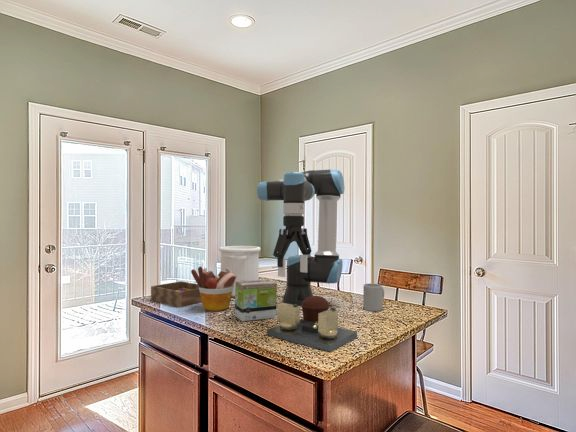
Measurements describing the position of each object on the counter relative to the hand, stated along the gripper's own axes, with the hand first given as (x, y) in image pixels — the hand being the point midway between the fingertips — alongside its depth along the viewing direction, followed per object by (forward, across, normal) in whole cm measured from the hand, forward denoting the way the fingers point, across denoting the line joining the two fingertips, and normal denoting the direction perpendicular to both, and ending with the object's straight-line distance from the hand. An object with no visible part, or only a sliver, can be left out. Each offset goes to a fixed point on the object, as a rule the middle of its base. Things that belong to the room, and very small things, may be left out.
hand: (293, 274), depth 134 cm
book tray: (+21, +8, +74) cm, 77 cm away
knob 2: (+19, 0, -15) cm, 24 cm away
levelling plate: (+21, +2, -7) cm, 22 cm away
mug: (+21, +53, -9) cm, 57 cm away
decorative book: (+21, +8, +74) cm, 77 cm away
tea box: (+21, +8, +25) cm, 34 cm away
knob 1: (+19, -1, +1) cm, 19 cm away
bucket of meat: (+21, +7, +49) cm, 54 cm away
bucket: (+21, +38, +62) cm, 76 cm away
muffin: (+21, +18, +2) cm, 28 cm away
